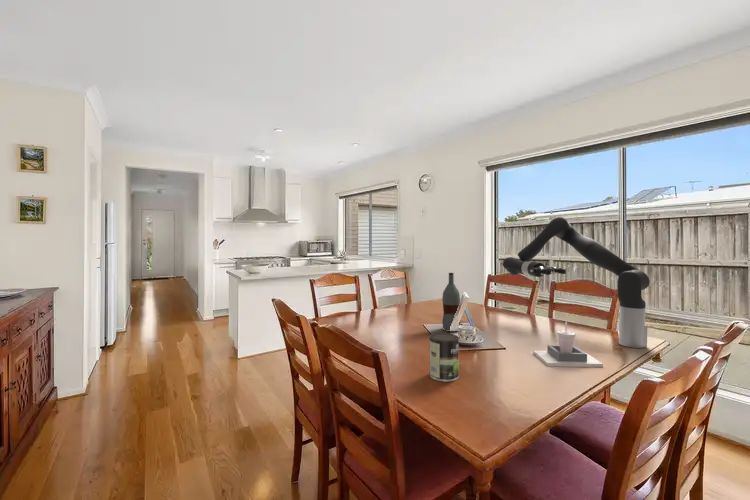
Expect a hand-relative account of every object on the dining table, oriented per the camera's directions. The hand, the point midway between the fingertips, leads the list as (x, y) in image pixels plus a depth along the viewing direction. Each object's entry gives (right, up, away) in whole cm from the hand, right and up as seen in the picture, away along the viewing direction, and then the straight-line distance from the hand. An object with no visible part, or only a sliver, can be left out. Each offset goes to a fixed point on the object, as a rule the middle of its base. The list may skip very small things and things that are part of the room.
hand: (557, 272), depth 163 cm
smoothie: (-9, -32, -24) cm, 41 cm away
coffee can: (-60, -35, -38) cm, 79 cm away
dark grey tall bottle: (-45, -32, +21) cm, 59 cm away
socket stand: (-9, -33, -24) cm, 42 cm away
